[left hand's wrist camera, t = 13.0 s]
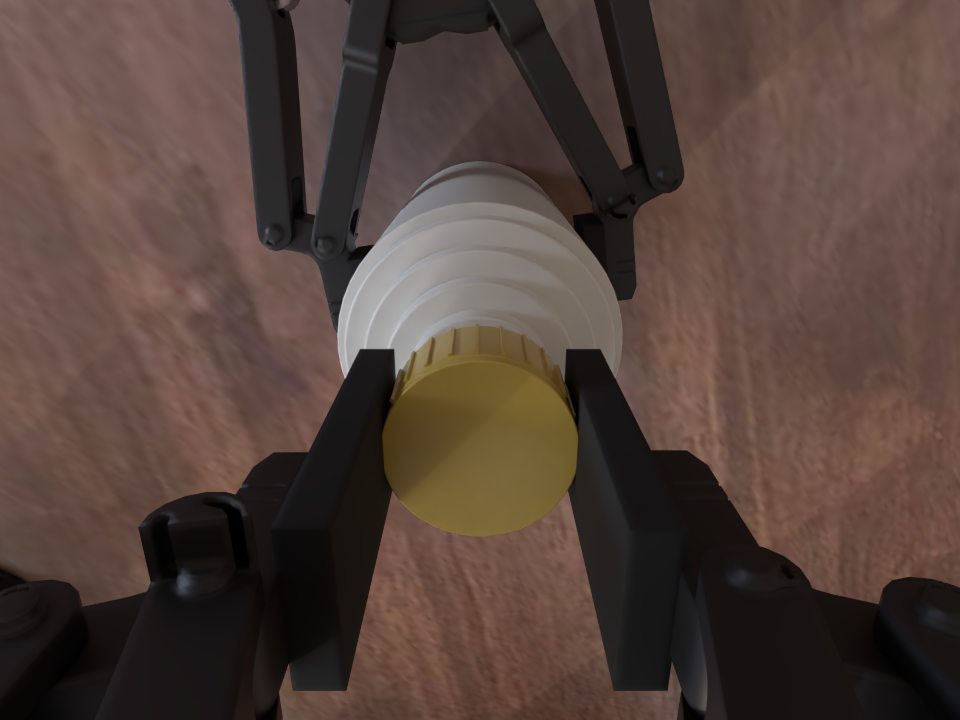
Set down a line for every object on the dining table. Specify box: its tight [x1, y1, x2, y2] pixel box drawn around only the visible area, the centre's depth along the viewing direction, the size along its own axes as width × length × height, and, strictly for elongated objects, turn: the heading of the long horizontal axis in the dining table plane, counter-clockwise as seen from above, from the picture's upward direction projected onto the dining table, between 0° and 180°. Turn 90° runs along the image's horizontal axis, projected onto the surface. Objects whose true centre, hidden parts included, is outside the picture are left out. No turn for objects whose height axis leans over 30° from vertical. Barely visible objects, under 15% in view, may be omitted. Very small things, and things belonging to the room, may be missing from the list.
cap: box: [382, 324, 578, 536], centre depth 14 cm, size 4×4×2 cm
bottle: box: [337, 161, 623, 380], centre depth 22 cm, size 8×8×20 cm
